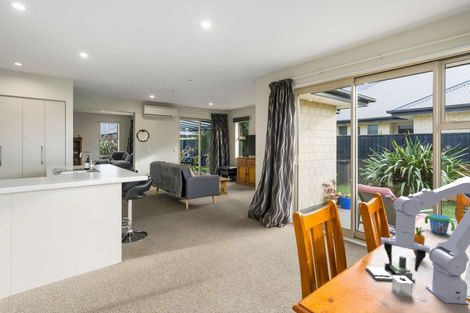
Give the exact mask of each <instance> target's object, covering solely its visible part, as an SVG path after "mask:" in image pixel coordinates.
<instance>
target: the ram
mask: <svg viewBox="0 0 470 313" xmlns="http://www.w3.org/2000/svg"><path fill="white" fill-rule="evenodd" d="M390 268H391V269H392V270H393V271H394V272H411V270H410V269H409V268H407V257H405V256H401V255H400V256H399V260H398V262H392V265H390Z"/></svg>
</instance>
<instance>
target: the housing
mask: <svg viewBox="0 0 470 313" xmlns="http://www.w3.org/2000/svg"><path fill="white" fill-rule="evenodd" d="M413 286H414V282H411V281H410V280H409V279H408V278H406V277H405V276H392V281H391V289H392V290H393V291H394V292H395V293H396V294H397V296H399V297H413V289H414V288H413Z"/></svg>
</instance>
